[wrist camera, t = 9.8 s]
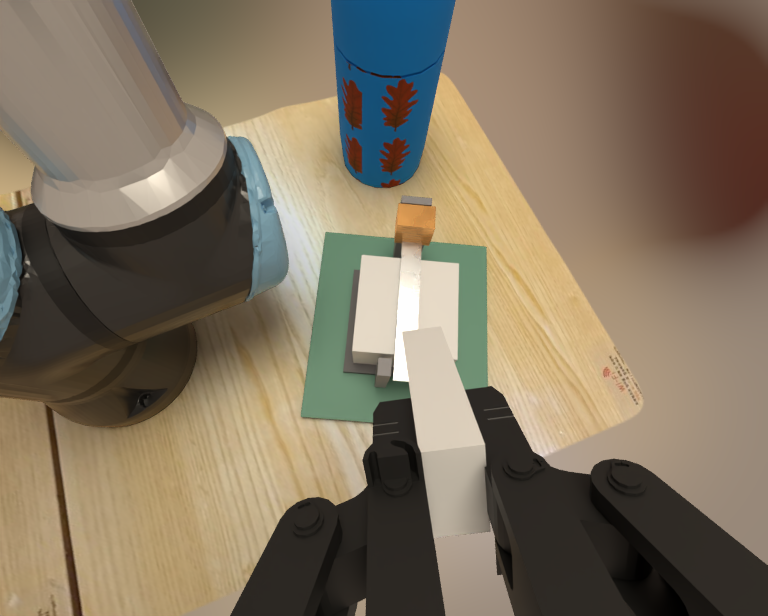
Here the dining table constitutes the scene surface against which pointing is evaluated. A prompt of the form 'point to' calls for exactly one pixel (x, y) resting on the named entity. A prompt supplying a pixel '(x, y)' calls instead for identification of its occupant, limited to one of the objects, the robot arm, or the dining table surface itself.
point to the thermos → (387, 82)
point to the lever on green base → (389, 320)
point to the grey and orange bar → (410, 273)
